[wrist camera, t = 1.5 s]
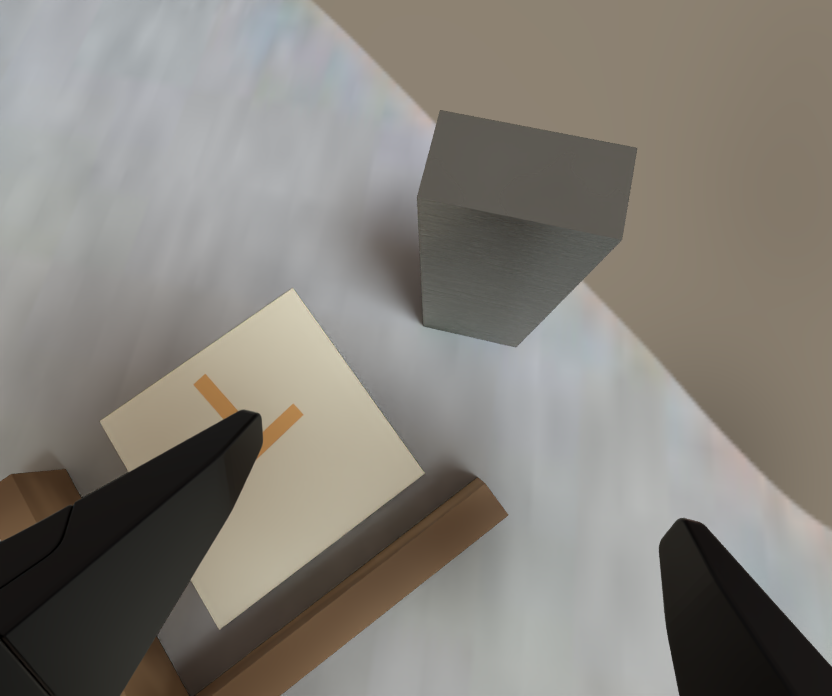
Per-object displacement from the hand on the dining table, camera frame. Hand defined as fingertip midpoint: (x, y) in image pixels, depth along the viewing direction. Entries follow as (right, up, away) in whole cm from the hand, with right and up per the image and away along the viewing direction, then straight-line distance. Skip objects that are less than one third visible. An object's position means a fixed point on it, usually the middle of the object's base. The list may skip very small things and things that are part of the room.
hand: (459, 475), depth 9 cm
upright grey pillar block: (+3, +6, +14) cm, 16 cm away
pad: (-9, -2, +13) cm, 16 cm away
